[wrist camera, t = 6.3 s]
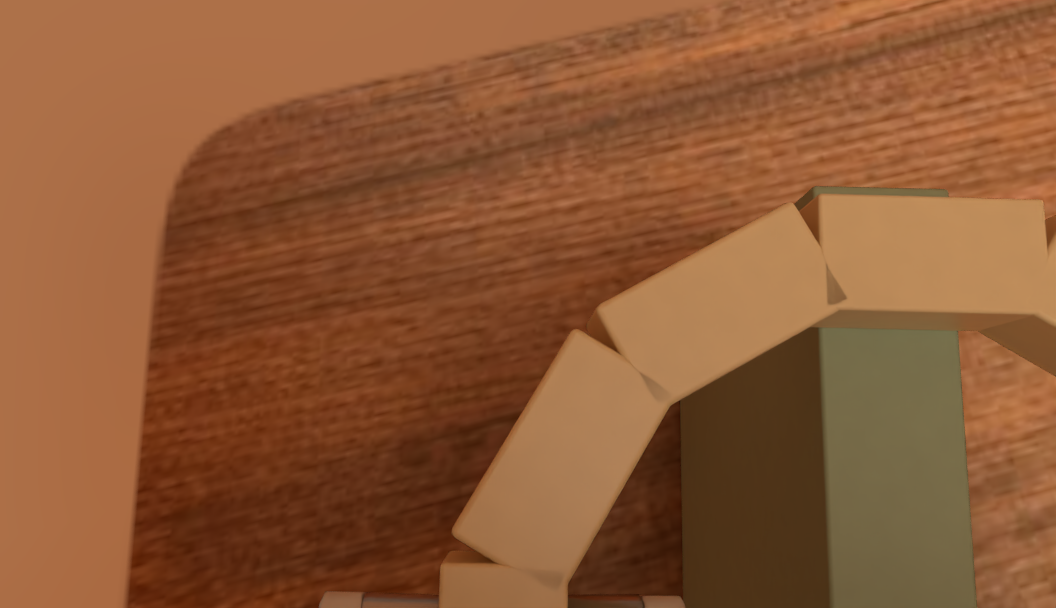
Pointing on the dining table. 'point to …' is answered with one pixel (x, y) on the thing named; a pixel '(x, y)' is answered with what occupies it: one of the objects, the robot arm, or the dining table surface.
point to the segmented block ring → (735, 356)
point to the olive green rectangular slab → (831, 472)
